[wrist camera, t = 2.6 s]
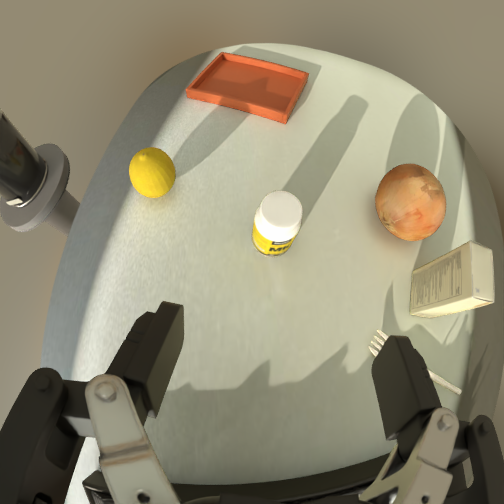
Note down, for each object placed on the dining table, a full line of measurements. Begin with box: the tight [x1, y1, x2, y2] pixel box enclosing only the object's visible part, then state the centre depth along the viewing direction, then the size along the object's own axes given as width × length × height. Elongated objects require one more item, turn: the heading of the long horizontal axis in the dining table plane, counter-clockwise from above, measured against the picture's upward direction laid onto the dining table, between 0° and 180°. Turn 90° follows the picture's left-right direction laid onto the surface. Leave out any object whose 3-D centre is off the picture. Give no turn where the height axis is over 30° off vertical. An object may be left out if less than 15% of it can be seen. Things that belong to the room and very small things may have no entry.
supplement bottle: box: [252, 191, 303, 257], centre depth 29 cm, size 5×5×8 cm
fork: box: [369, 329, 462, 395], centre depth 28 cm, size 3×20×2 cm, turn 57°
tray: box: [186, 52, 309, 124], centre depth 40 cm, size 17×13×2 cm
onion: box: [375, 164, 446, 241], centre depth 30 cm, size 10×10×10 cm
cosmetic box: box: [410, 240, 494, 318], centre depth 26 cm, size 6×4×12 cm
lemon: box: [129, 147, 175, 198], centre depth 31 cm, size 6×6×8 cm
